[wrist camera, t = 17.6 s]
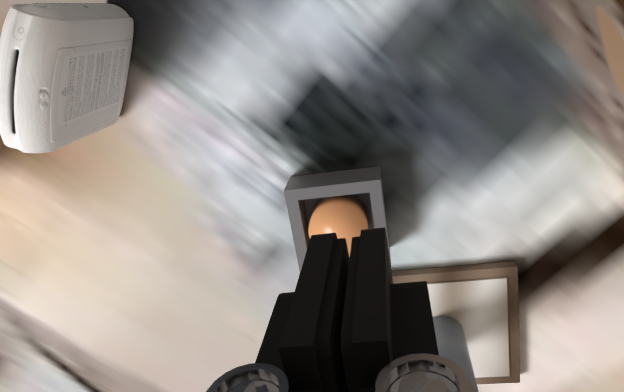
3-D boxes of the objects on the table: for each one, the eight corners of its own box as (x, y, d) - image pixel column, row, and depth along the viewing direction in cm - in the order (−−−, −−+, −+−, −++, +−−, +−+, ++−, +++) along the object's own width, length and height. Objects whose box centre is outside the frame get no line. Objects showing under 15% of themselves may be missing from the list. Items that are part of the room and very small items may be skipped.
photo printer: (91, -6, 41) (-20, -7, 29) (141, 11, 41) (49, 16, 29) (77, 112, 45) (-25, 152, 33) (123, 127, 45) (36, 172, 33)
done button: (364, 190, 42) (364, 201, 40) (371, 242, 44) (371, 255, 42) (307, 196, 43) (303, 207, 41) (316, 247, 45) (313, 260, 43)
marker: (463, 313, 46) (485, 402, 36) (466, 349, 47) (489, 445, 37) (417, 316, 47) (426, 404, 37) (422, 352, 48) (432, 446, 38)
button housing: (380, 166, 43) (380, 179, 40) (389, 247, 46) (390, 266, 43) (290, 176, 44) (284, 190, 41) (305, 255, 47) (300, 273, 44)
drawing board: (514, 261, 45) (518, 267, 44) (517, 375, 49) (520, 383, 48) (361, 273, 47) (360, 280, 46) (376, 381, 52) (376, 389, 51)
